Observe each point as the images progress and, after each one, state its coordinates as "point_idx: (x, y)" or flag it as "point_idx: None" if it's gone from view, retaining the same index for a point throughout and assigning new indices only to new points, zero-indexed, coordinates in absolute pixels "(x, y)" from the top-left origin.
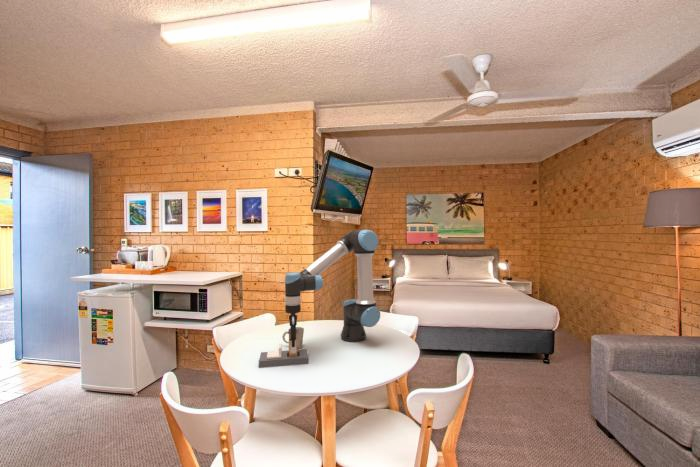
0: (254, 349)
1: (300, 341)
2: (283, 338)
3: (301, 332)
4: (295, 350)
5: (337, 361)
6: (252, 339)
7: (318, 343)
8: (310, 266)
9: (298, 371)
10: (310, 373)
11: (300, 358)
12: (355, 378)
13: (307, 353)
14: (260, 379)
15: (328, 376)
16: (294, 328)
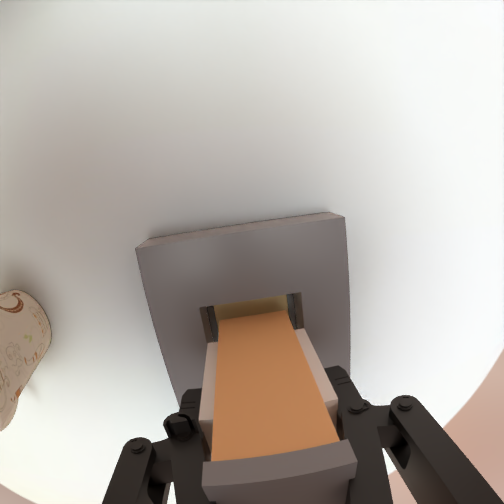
0: (106, 487)
1: (12, 314)
2: (12, 415)
3: None
4: (310, 343)
5: (299, 18)
6: (16, 477)
7: None
8: None
9: (429, 263)
10: (458, 194)
11: (348, 277)
12: (481, 12)
13: (251, 231)
14: (448, 400)
15: (483, 107)
16: (483, 495)
